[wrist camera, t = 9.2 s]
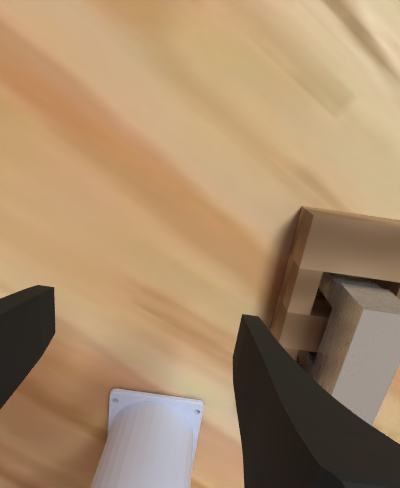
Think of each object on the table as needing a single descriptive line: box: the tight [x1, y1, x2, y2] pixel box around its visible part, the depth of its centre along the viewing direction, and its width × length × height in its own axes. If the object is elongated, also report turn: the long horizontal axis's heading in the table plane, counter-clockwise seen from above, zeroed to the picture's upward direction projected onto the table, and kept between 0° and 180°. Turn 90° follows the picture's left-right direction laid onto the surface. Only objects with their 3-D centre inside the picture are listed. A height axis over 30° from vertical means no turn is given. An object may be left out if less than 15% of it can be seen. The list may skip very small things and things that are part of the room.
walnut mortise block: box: [270, 206, 400, 369], centre depth 21 cm, size 16×8×2 cm, turn 172°
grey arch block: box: [298, 272, 400, 426], centre depth 20 cm, size 8×3×6 cm, turn 172°
